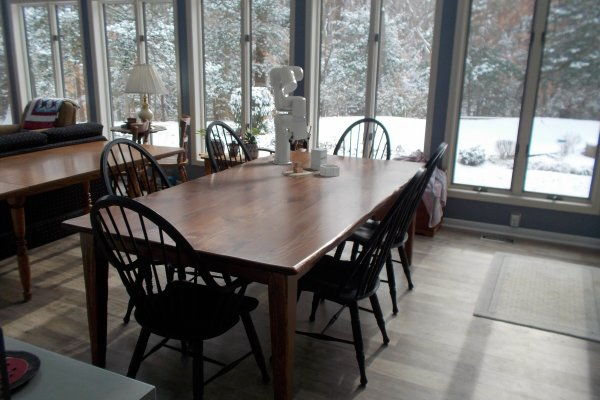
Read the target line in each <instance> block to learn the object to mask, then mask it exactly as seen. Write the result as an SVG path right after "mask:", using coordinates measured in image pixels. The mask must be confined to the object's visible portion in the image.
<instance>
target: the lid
mask: <svg viewBox="0 0 600 400" xmlns="http://www.w3.org/2000/svg"><path fill="white" fill-rule="evenodd" d="M292 164H293V165H292V170H286V171H282V172H281V173H282V174H281V175H285V174H286V175H285V176H288V175H290V176H289V177H292V176H293V177H292V178H295V177H299V178H304V177H303V176H305V177H309V176H308V175H310V176H315V175H314V174H315V172H312V171H308V170H304V162H303V161H300V160H299V161H292Z"/></svg>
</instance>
